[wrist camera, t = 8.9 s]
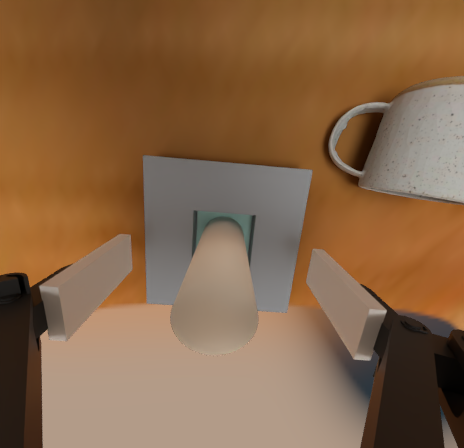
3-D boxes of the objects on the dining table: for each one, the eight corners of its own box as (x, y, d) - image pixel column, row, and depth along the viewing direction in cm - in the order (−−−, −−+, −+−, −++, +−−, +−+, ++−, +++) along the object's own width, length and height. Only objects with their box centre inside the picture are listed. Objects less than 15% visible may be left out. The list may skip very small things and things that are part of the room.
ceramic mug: (447, 111, 20) (574, 80, 12) (413, 198, 22) (503, 215, 15) (337, 91, 20) (399, 45, 12) (313, 180, 22) (354, 189, 14)
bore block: (157, 156, 21) (142, 155, 17) (299, 169, 21) (312, 169, 18) (158, 284, 25) (146, 303, 21) (279, 292, 25) (286, 312, 22)
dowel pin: (204, 214, 21) (170, 278, 9) (245, 217, 21) (263, 284, 9) (202, 252, 22) (170, 352, 10) (241, 255, 22) (253, 358, 10)
